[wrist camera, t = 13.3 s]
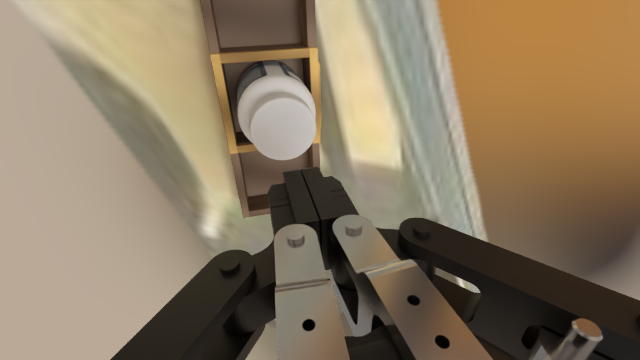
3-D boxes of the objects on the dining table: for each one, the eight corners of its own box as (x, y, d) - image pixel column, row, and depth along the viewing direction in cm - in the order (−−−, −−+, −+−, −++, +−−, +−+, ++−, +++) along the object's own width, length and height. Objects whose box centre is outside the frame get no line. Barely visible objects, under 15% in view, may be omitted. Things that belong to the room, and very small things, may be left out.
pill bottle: (239, 122, 26) (239, 172, 19) (234, 57, 24) (232, 86, 16) (300, 121, 27) (323, 167, 20) (301, 59, 25) (329, 86, 17)
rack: (192, -65, 20) (183, -77, 17) (306, -64, 22) (319, -75, 18) (242, 197, 31) (243, 221, 28) (316, 185, 33) (325, 207, 29)
